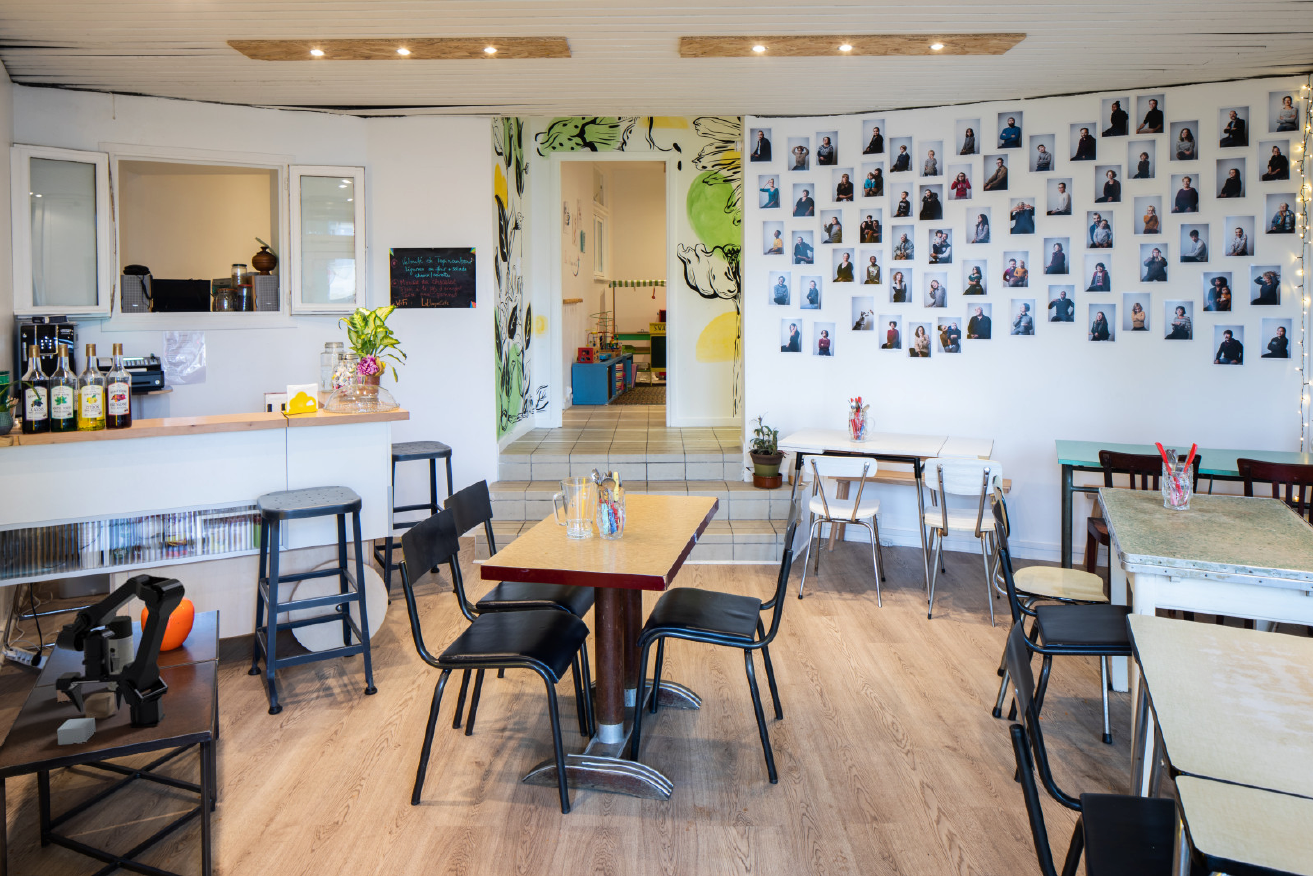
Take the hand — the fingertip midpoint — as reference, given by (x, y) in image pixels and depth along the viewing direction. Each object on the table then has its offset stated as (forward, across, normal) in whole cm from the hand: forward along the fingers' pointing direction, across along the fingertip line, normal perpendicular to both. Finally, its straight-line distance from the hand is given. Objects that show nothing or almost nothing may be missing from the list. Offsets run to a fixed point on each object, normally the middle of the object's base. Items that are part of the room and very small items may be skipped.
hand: (100, 710), depth 238 cm
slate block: (+1, 0, +14) cm, 14 cm away
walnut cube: (+1, 0, 0) cm, 1 cm away
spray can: (+1, +2, -19) cm, 19 cm away
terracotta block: (+1, +13, -13) cm, 18 cm away
